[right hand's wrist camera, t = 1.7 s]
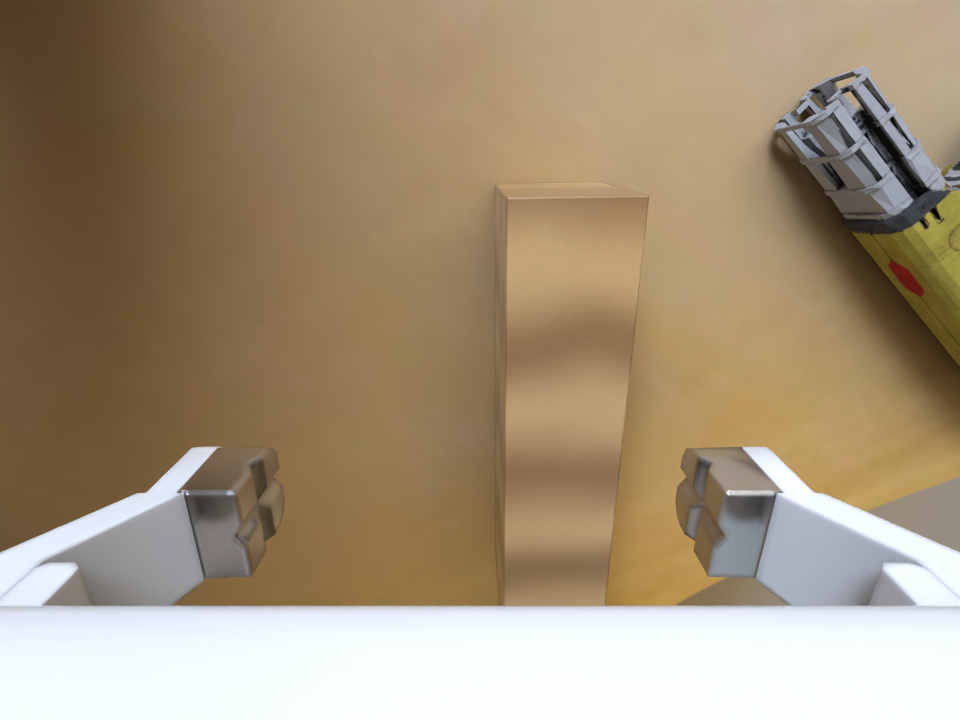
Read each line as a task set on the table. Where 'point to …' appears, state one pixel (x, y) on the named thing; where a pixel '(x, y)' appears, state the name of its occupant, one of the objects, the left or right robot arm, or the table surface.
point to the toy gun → (886, 194)
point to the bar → (561, 382)
